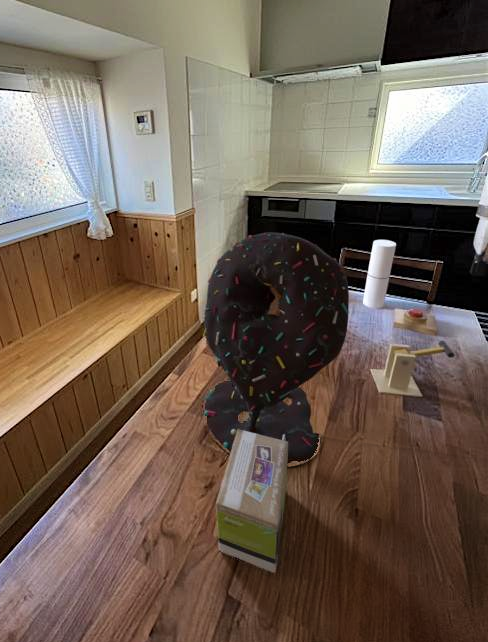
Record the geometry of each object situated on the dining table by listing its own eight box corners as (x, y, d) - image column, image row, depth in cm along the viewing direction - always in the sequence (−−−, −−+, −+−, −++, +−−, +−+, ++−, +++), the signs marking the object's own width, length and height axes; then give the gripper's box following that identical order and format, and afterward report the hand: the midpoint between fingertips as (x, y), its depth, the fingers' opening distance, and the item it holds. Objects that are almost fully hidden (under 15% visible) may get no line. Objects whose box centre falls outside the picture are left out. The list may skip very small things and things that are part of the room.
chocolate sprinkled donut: (325, 491, 67) (357, 293, 49) (179, 439, 80) (162, 267, 62) (334, 389, 92) (358, 231, 73) (221, 361, 105) (217, 222, 86)
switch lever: (445, 346, 86) (444, 338, 86) (455, 358, 82) (454, 350, 81) (393, 354, 90) (391, 347, 90) (399, 366, 86) (398, 359, 85)
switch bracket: (408, 375, 94) (417, 341, 89) (421, 399, 86) (432, 363, 82) (369, 372, 97) (376, 338, 92) (378, 395, 89) (387, 359, 84)
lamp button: (421, 313, 115) (422, 309, 115) (422, 318, 113) (423, 314, 112) (409, 311, 117) (410, 307, 116) (409, 316, 114) (410, 312, 114)
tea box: (237, 475, 71) (237, 425, 65) (286, 491, 68) (291, 439, 62) (217, 554, 59) (214, 501, 52) (276, 578, 55) (280, 525, 49)
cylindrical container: (365, 307, 128) (376, 246, 117) (360, 298, 134) (371, 239, 124) (385, 309, 126) (398, 246, 116) (380, 299, 132) (392, 239, 122)
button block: (433, 320, 117) (436, 311, 116) (435, 336, 110) (438, 325, 108) (393, 313, 123) (395, 303, 121) (392, 327, 115) (395, 317, 114)
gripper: (522, 219, 81) (499, 287, 88) (508, 205, 92) (490, 266, 99) (481, 218, 84) (463, 283, 92) (473, 204, 96) (458, 263, 103)
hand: (477, 274), depth 96 cm, fingers closed
